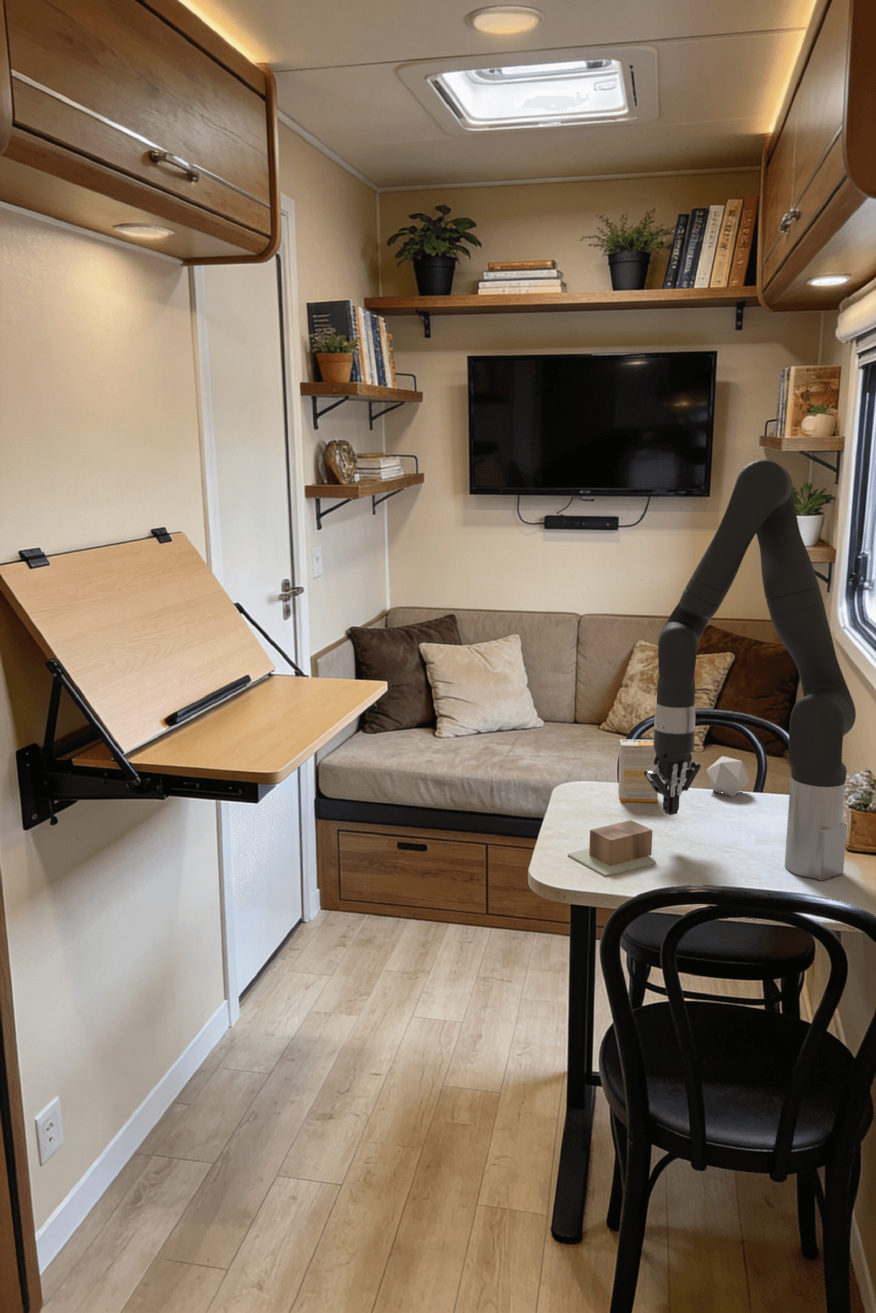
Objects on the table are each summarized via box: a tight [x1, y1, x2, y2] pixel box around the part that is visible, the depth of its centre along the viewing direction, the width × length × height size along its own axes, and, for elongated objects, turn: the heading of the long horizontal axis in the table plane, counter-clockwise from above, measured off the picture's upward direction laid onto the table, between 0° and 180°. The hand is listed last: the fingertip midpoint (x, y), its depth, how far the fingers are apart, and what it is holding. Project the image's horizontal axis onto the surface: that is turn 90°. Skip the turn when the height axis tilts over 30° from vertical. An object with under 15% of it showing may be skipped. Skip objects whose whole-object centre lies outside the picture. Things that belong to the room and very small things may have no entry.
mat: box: [567, 848, 657, 878], centre depth 186 cm, size 11×12×1 cm
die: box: [705, 755, 750, 798], centre depth 222 cm, size 8×9×10 cm
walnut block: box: [588, 819, 653, 866], centre depth 187 cm, size 6×5×10 cm
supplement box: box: [617, 738, 659, 803], centre depth 218 cm, size 8×5×13 cm, turn 84°
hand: (670, 813), depth 192 cm, fingers closed
